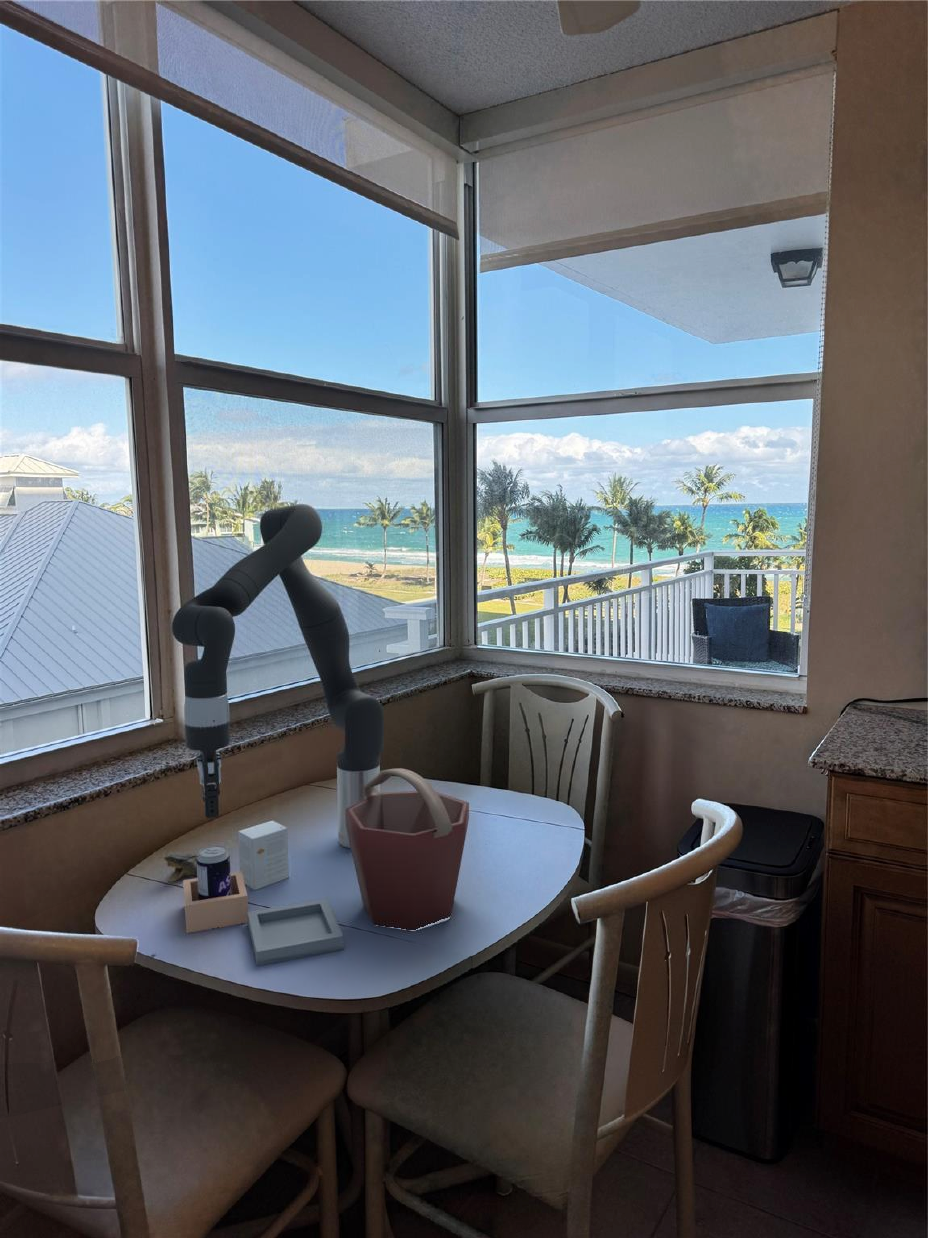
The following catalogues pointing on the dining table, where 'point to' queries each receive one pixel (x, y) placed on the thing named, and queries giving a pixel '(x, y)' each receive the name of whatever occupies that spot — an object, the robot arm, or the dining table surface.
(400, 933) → the dining table surface
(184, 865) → the dinosaur head
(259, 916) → the slate tray
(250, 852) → the small box
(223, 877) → the beverage can
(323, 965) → the dining table surface
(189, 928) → the peach open bin
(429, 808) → the bucket
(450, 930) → the dining table surface
